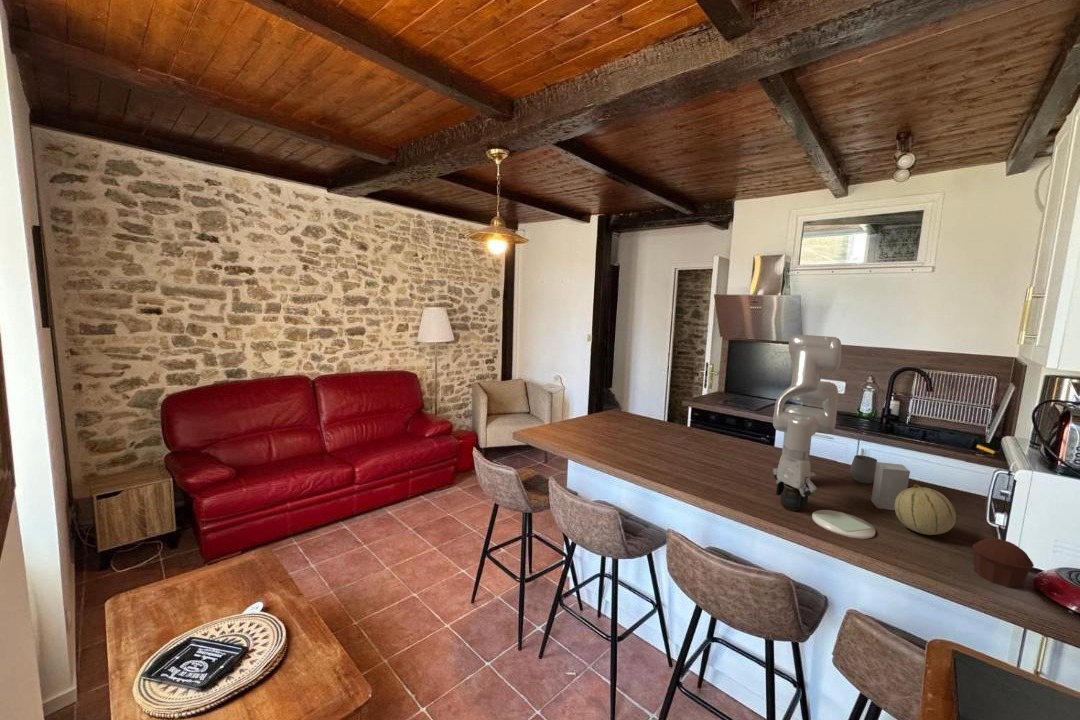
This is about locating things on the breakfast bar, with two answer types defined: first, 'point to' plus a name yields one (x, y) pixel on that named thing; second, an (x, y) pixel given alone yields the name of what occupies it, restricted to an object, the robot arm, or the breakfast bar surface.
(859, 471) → the cup
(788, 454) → the robot arm
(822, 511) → the stand
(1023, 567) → the muffin
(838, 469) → the breakfast bar surface
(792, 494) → the mate gourd
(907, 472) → the skincare box
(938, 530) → the cantaloupe
